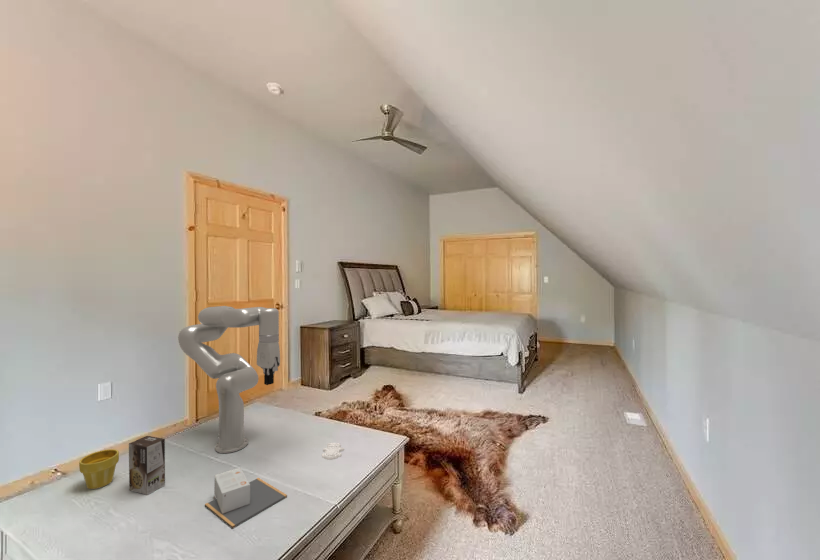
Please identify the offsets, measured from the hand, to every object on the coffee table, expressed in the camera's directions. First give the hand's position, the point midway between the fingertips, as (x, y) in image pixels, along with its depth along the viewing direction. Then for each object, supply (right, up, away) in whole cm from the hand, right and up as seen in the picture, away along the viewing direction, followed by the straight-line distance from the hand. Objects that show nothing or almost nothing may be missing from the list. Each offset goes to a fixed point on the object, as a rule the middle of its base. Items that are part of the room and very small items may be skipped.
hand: (268, 383), depth 141 cm
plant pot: (-51, -29, -20) cm, 62 cm away
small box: (-4, -26, -24) cm, 35 cm away
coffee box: (-33, -29, -22) cm, 49 cm away
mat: (+5, -29, -29) cm, 42 cm away
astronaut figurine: (+25, -30, +3) cm, 39 cm away
